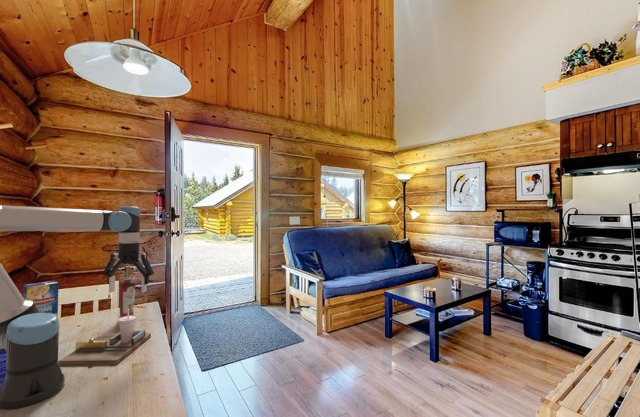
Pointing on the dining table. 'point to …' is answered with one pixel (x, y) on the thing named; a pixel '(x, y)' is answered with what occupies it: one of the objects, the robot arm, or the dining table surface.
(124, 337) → the smoothie
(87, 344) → the bar
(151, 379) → the dining table surface
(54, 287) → the blue food box
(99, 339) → the board
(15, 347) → the robot arm
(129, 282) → the liquor
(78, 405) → the dining table surface
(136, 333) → the collar
